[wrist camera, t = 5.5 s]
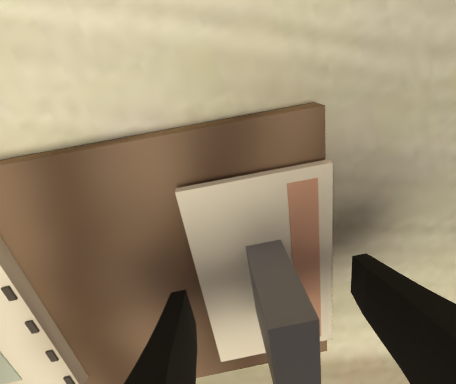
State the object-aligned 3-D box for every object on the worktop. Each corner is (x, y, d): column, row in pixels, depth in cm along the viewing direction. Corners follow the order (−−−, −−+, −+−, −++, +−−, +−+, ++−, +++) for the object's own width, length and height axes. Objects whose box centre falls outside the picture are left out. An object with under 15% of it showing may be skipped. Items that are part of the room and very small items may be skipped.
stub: (328, 159, 10) (408, 214, 6) (328, 332, 15) (377, 430, 11) (175, 188, 10) (161, 262, 6) (220, 354, 14) (229, 462, 11)
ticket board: (314, 102, 11) (334, 108, 9) (319, 335, 17) (332, 364, 15) (-249, 206, 10) (-334, 231, 9) (-37, 409, 16) (-64, 447, 14)
